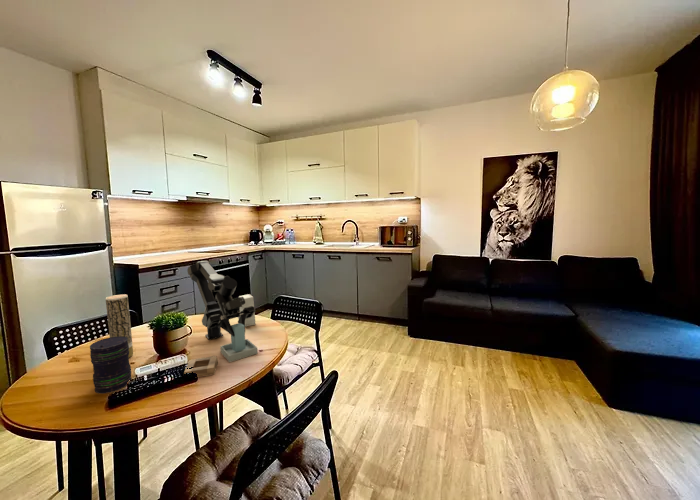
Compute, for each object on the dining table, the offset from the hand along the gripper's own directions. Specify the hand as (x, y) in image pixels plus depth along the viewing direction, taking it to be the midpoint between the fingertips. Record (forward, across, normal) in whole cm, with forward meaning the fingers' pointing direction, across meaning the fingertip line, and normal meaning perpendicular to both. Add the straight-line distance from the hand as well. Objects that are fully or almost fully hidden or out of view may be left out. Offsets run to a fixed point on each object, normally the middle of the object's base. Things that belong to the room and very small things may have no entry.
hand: (239, 334), depth 117 cm
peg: (+4, 0, +6) cm, 7 cm away
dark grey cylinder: (-1, -39, +13) cm, 41 cm away
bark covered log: (-17, -34, +29) cm, 47 cm away
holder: (+7, -16, +4) cm, 18 cm away
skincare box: (-15, +19, +28) cm, 37 cm away
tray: (+5, 0, +7) cm, 8 cm away
